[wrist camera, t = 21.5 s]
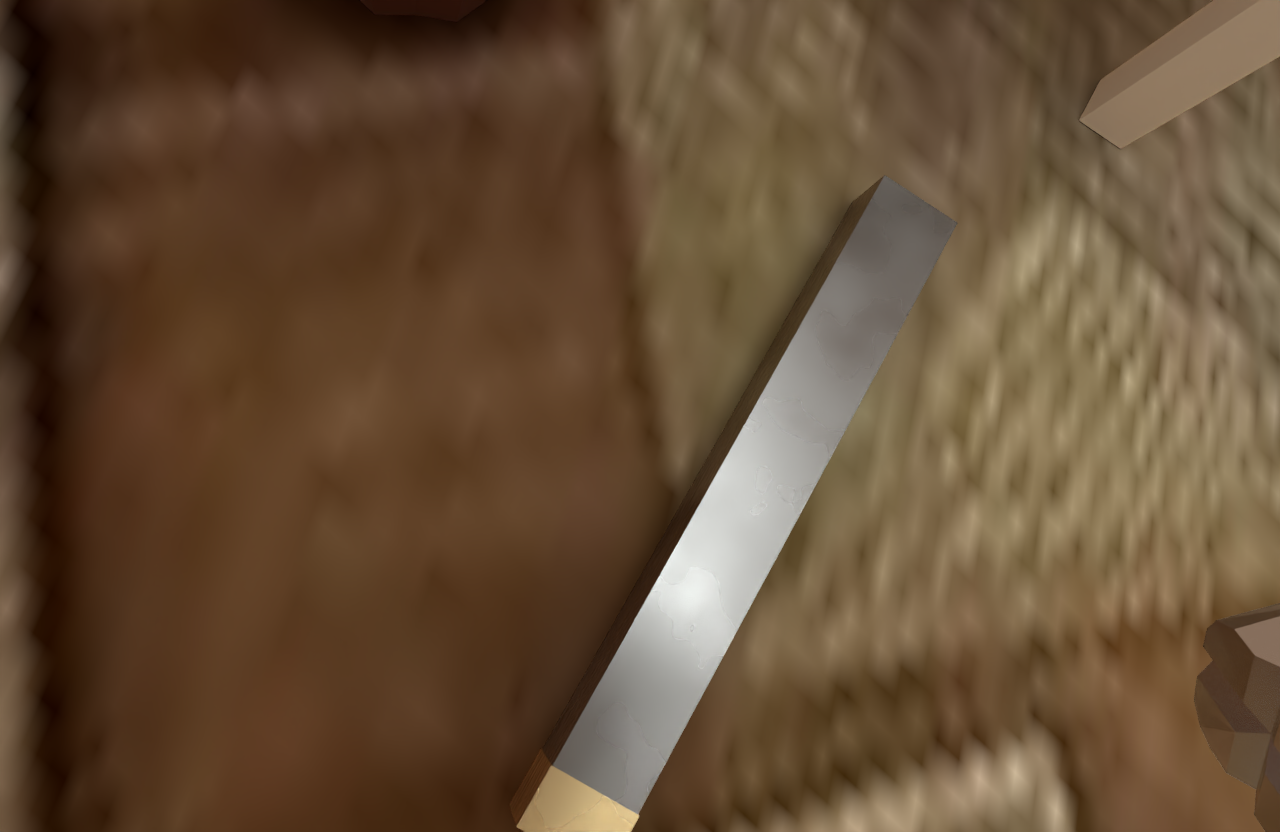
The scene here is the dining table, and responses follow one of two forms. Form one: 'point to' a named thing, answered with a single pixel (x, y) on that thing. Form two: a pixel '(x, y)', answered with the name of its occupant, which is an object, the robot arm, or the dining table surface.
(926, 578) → the dining table surface
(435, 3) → the muffin
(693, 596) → the pin
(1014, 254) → the dining table surface
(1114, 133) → the pin stand
